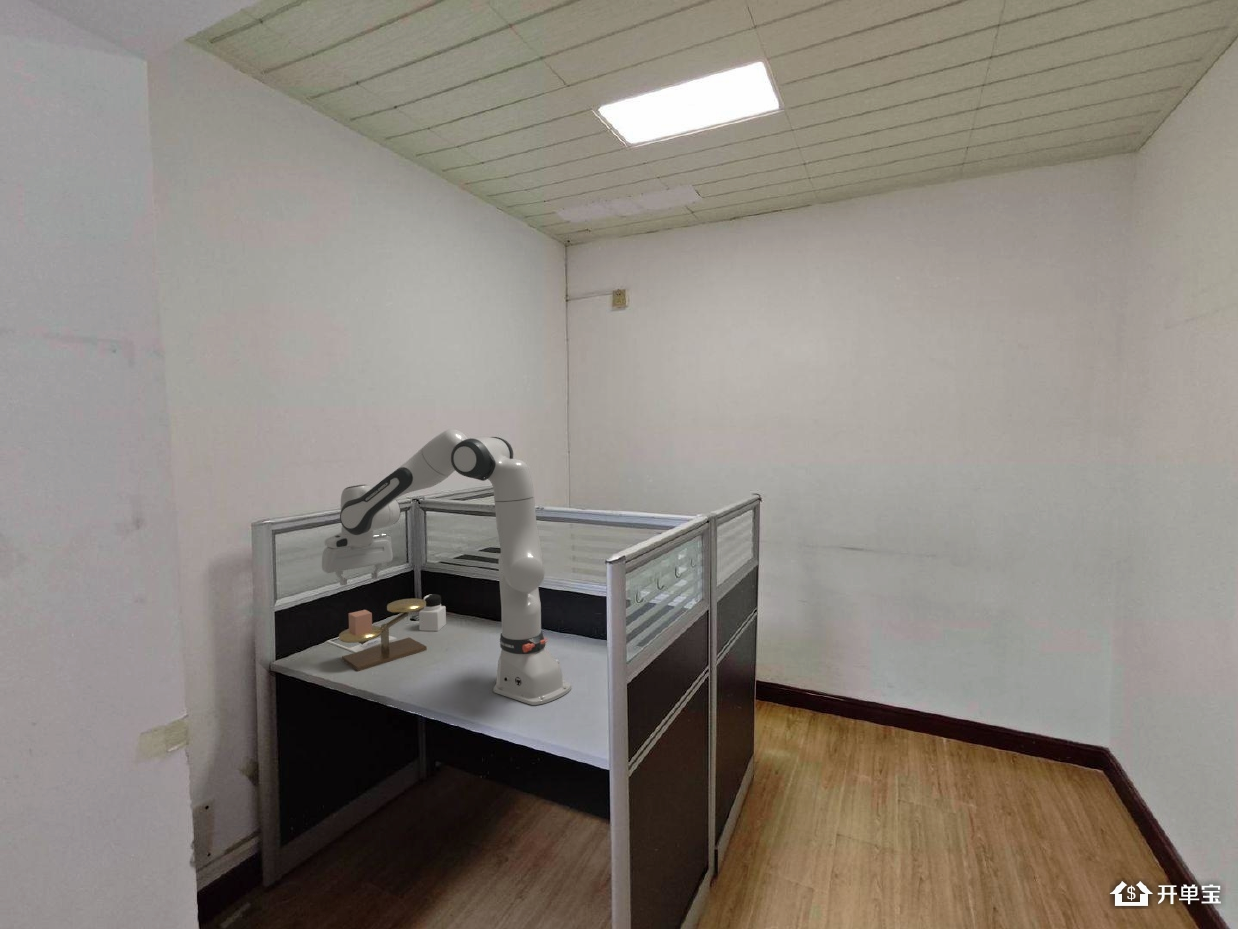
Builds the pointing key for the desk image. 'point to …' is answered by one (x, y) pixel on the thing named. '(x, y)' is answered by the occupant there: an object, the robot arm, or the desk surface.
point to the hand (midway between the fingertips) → (359, 581)
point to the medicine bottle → (432, 614)
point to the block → (360, 622)
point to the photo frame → (362, 646)
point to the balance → (384, 639)
